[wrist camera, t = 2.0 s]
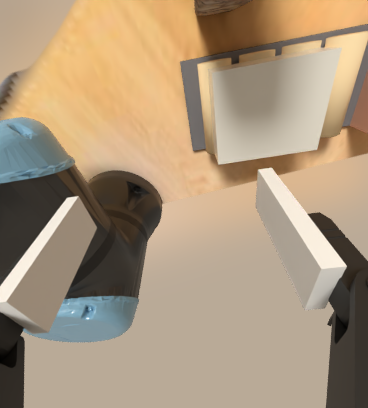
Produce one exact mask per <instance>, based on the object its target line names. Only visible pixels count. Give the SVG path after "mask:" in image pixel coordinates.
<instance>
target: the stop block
mask: <svg viewBox="0 0 368 408" xmlns="http://www.w3.org/2000/svg"><path fill="white" fill-rule="evenodd" d="M350 126H352V127H354V128H356V129H358V130H360V131H362V132H365V133H367V134H368V70H367V73H366V76H365V79H364V83H363V86H362V89H361V92H360V95H359V98H358V101H357V104H356V107H355V111H354V114H353V117H352V120H351V123H350Z"/></svg>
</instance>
